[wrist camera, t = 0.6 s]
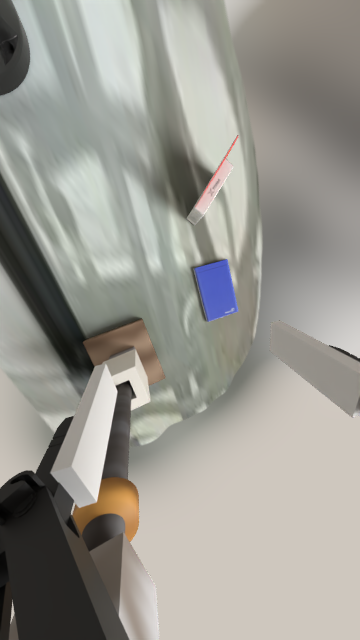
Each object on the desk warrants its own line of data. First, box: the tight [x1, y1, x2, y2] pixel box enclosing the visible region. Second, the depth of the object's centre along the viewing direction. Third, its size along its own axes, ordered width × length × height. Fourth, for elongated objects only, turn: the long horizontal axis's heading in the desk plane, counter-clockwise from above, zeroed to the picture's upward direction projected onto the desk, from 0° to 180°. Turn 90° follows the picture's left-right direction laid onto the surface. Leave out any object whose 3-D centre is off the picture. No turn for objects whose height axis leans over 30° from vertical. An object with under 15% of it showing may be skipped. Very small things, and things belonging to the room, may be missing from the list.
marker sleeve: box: [102, 349, 150, 410], centre depth 29 cm, size 6×6×8 cm
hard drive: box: [194, 259, 238, 322], centre depth 41 cm, size 2×8×12 cm
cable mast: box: [9, 319, 165, 640], centre depth 21 cm, size 14×12×36 cm
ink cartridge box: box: [187, 135, 238, 225], centre depth 33 cm, size 2×11×10 cm, turn 147°
